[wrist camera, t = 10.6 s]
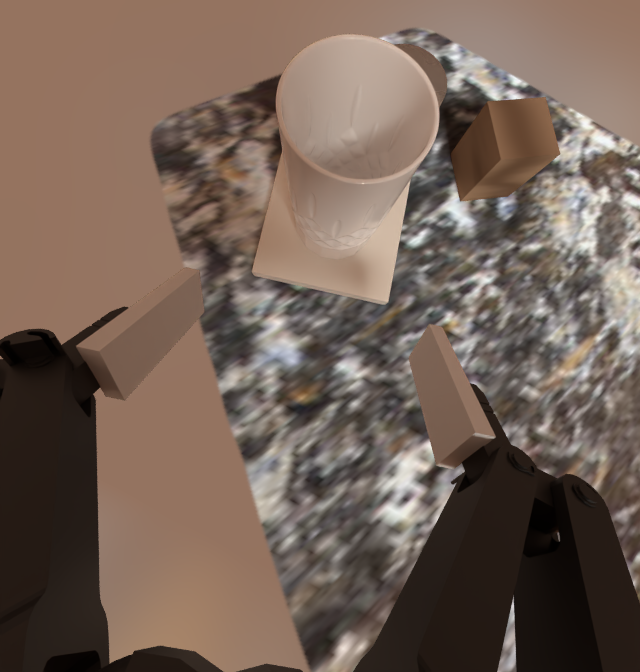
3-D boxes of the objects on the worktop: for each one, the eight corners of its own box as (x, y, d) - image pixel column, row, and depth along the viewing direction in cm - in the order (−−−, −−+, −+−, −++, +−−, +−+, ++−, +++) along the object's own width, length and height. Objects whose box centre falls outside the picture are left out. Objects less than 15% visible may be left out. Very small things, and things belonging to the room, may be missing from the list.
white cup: (271, 233, 21) (241, 118, 11) (321, 166, 22) (336, 4, 12) (346, 284, 21) (384, 215, 11) (393, 214, 22) (468, 93, 12)
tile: (406, 185, 23) (410, 177, 22) (384, 304, 22) (388, 302, 21) (284, 155, 23) (283, 146, 22) (254, 275, 21) (251, 271, 20)
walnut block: (496, 150, 24) (545, 97, 19) (507, 196, 24) (560, 154, 19) (449, 155, 24) (487, 101, 19) (459, 201, 24) (500, 159, 19)
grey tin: (417, 132, 24) (453, 57, 18) (404, 186, 23) (438, 127, 17) (359, 115, 24) (376, 34, 18) (344, 169, 23) (357, 103, 17)
